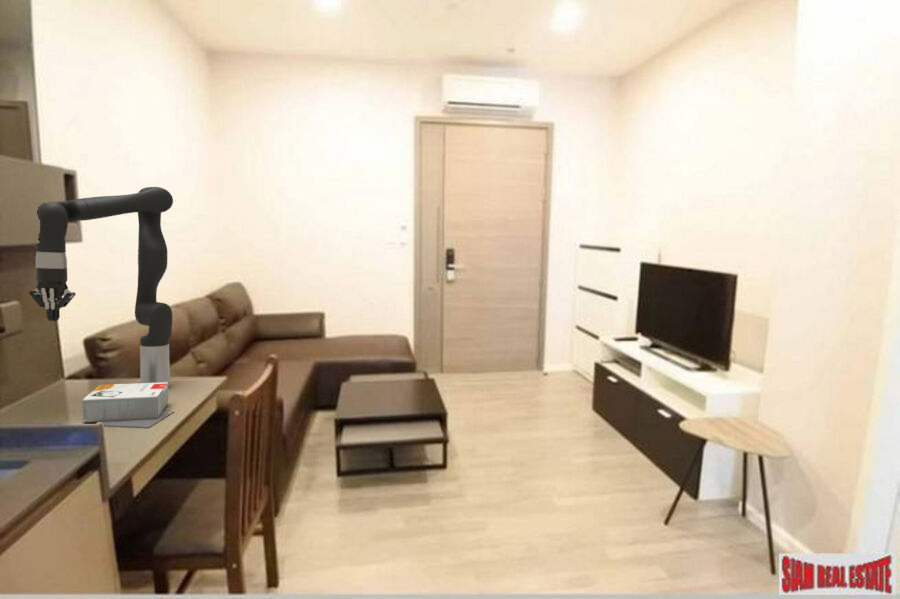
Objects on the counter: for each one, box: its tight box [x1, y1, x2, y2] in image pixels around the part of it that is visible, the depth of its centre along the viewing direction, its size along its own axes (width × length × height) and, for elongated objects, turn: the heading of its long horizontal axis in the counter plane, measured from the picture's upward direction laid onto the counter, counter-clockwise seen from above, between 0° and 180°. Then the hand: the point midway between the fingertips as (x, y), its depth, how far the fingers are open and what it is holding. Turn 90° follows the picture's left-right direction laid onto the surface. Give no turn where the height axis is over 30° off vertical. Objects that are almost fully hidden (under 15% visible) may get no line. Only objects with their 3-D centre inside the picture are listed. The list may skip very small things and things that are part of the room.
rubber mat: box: [101, 410, 171, 429], centre depth 148 cm, size 14×17×1 cm
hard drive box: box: [82, 382, 169, 423], centre depth 152 cm, size 16×8×20 cm
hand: (53, 320), depth 150 cm, fingers closed
